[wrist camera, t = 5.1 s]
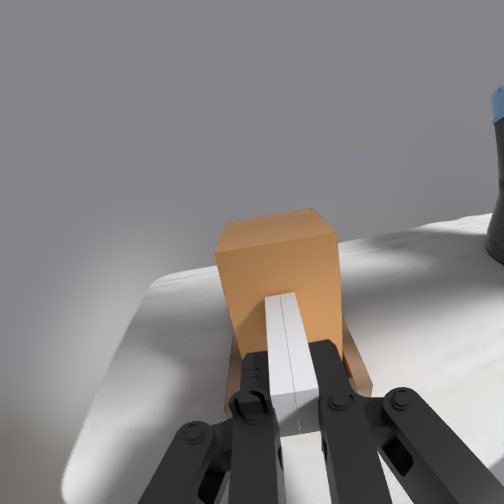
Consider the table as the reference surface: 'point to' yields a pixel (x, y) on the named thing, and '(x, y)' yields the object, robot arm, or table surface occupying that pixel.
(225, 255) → the block
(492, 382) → the table surface
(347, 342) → the brown wooden rectangular frame
